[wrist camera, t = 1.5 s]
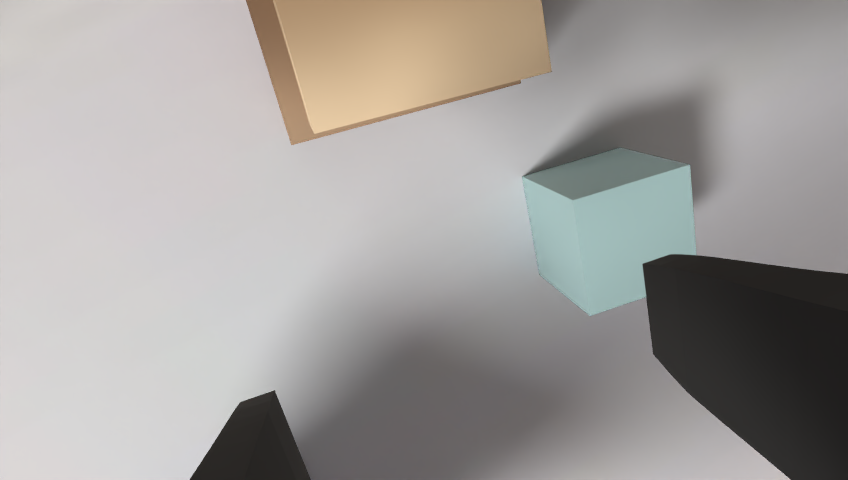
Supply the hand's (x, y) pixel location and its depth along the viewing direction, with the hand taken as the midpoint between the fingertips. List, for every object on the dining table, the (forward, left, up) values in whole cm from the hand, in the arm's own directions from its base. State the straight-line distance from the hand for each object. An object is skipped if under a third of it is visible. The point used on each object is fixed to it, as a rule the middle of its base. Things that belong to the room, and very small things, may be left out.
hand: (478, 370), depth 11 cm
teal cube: (-2, -7, -10) cm, 13 cm away
